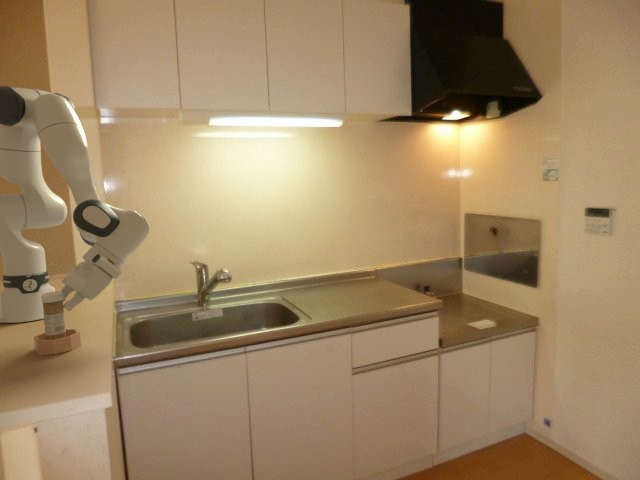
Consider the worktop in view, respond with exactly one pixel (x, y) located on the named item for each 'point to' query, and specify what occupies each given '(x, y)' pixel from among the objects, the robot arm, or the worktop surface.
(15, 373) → the worktop surface
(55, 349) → the bowl
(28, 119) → the robot arm
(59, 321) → the sprinkles bottle
